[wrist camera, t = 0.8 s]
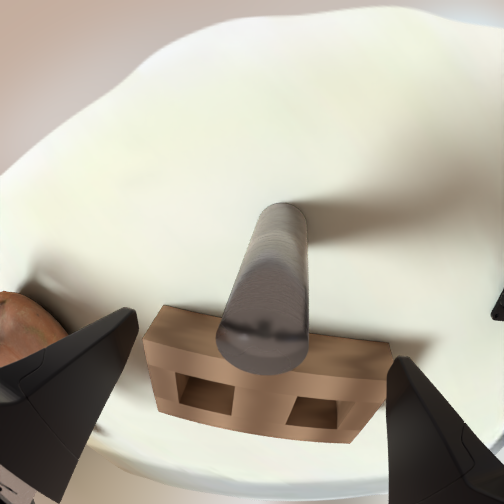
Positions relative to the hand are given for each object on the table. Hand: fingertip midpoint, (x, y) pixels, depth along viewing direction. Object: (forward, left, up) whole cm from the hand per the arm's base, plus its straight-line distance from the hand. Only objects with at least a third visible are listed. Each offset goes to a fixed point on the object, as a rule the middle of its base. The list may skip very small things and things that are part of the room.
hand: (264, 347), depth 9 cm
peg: (0, 0, -10) cm, 10 cm away
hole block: (-1, +13, -10) cm, 16 cm away
